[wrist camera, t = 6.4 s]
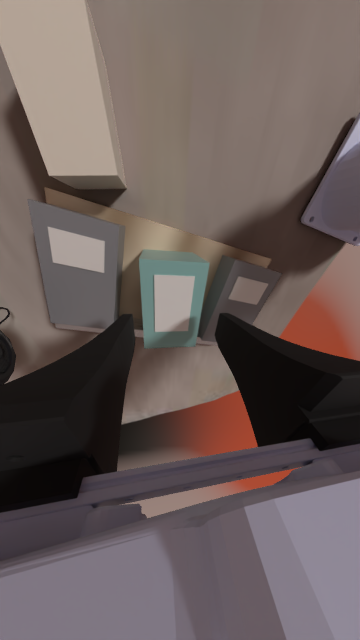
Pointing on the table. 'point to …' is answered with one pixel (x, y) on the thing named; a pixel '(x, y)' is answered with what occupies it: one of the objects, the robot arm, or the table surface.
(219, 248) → the board
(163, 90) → the table surface
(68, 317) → the mounted modules
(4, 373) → the headphones
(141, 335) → the rail
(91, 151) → the block
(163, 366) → the table surface
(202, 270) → the teal module
